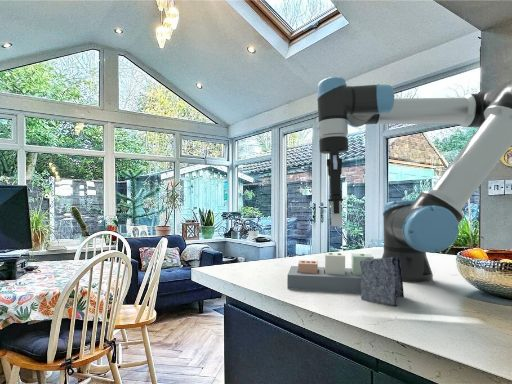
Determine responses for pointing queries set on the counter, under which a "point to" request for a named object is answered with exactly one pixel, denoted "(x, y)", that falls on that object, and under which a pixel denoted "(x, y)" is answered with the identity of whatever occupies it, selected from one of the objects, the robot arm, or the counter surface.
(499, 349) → the counter surface
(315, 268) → the tile three
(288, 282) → the key board
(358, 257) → the tile one
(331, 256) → the tile two
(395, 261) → the stone
